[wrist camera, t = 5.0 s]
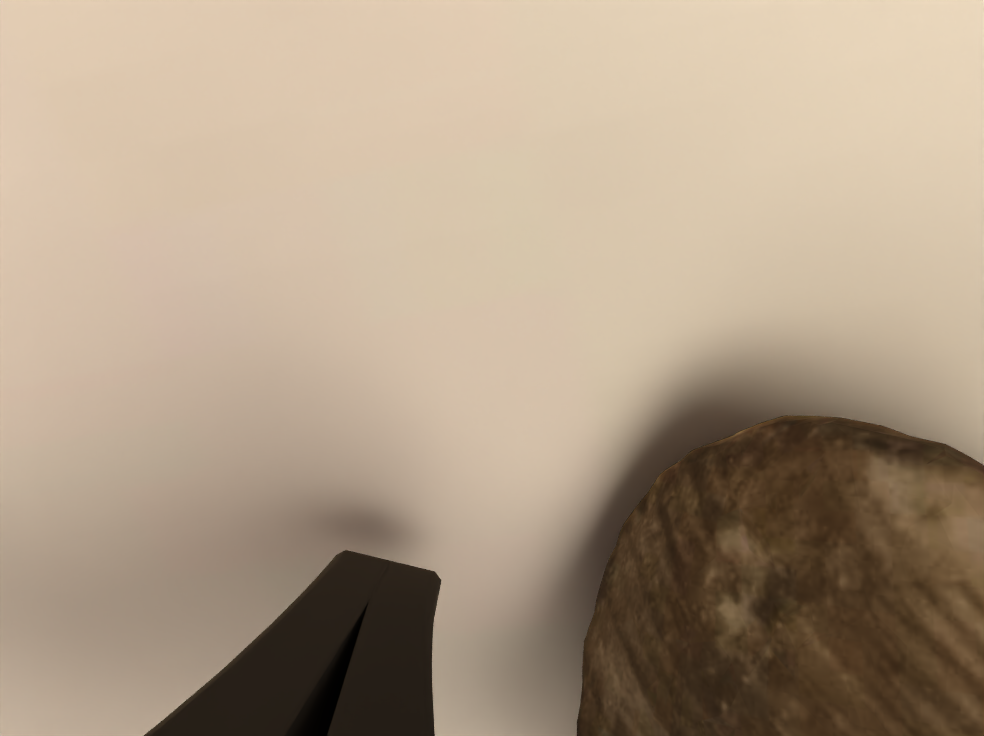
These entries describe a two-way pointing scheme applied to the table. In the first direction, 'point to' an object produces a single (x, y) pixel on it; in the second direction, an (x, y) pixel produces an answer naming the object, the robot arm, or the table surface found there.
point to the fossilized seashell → (796, 591)
